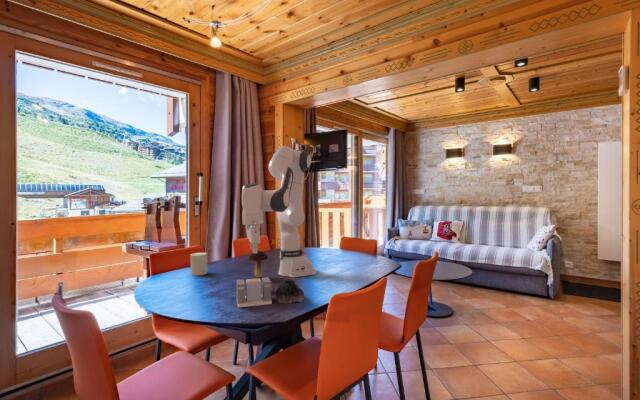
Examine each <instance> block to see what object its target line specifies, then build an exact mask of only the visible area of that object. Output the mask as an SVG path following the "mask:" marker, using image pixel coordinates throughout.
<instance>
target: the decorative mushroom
mask: <svg viewBox="0 0 640 400" xmlns="http://www.w3.org/2000/svg"><path fill="white" fill-rule="evenodd" d="M268 259H269V257H268V255H267V253H265V252H264V251H261V250H257V253H255V254H254V253H253V252H252V253H251V254H249V256H248V257H247V260H249V261H254V262H255V263H254V272H253V273H254V277H255V278H256V279H258V278H260V279H261V278H262V276H263V265H262V261H265V260H268Z"/></svg>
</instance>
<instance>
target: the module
mask: <svg viewBox="0 0 640 400" xmlns="http://www.w3.org/2000/svg"><path fill="white" fill-rule="evenodd" d="M261 294H262V279H261V277H260V278H247V279H245V296H246V299H247V301H255V300H261Z"/></svg>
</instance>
